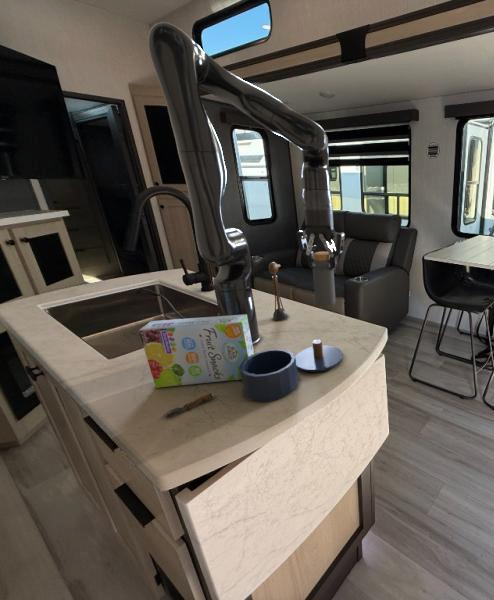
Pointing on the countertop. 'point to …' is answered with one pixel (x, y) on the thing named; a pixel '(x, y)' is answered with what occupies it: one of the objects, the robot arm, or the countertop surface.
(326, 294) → the bottle
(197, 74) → the robot arm
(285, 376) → the blue round container
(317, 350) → the lid
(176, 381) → the snack box
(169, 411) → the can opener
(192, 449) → the countertop surface
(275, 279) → the wooden tabletop sculpture
